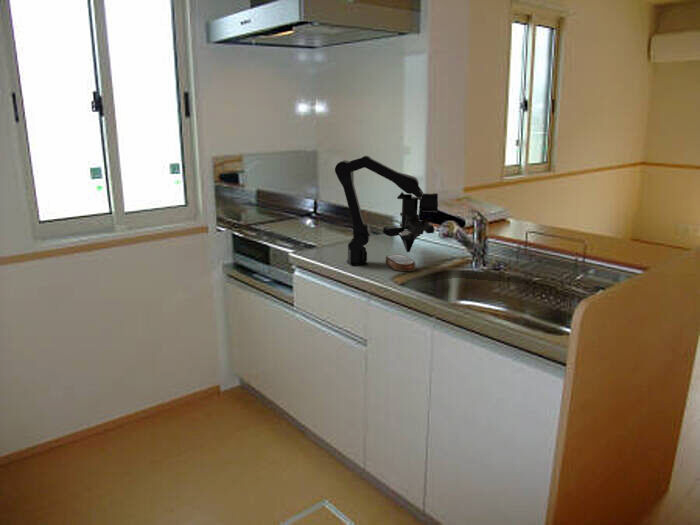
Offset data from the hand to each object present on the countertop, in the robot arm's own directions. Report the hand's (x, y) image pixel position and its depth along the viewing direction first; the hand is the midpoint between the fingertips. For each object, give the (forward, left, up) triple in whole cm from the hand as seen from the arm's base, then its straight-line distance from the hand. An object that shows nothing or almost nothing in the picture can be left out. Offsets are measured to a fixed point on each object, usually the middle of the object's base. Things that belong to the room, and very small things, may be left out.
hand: (408, 251), depth 205 cm
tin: (+1, 0, -3) cm, 4 cm away
